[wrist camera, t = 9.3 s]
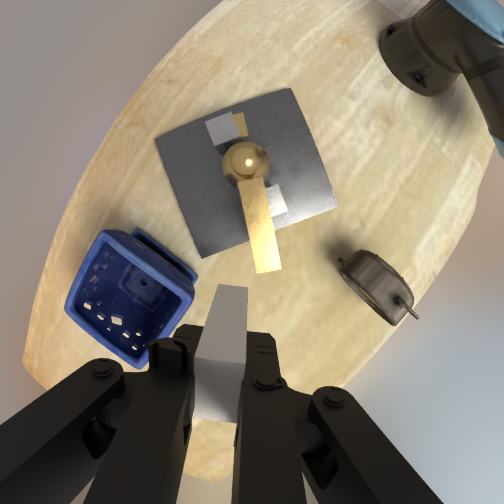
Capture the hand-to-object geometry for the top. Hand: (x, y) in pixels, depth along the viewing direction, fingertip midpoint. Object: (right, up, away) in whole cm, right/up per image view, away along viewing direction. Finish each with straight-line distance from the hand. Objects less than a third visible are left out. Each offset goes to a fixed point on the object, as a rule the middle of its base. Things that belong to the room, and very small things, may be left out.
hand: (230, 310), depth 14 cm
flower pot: (-14, -1, +26) cm, 29 cm away
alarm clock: (+18, 0, +26) cm, 31 cm away
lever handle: (+1, +11, +18) cm, 21 cm away
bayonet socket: (0, +14, +22) cm, 26 cm away
